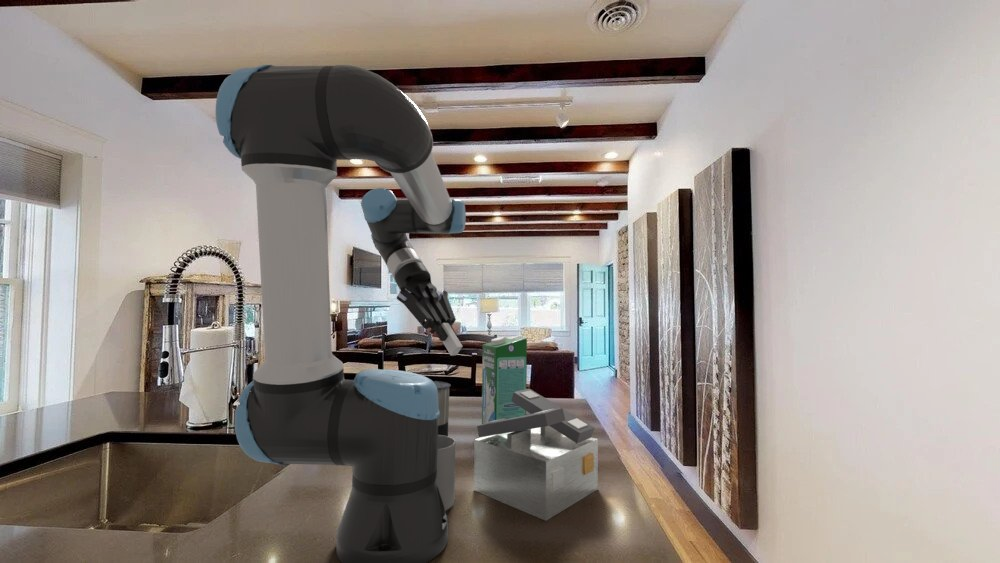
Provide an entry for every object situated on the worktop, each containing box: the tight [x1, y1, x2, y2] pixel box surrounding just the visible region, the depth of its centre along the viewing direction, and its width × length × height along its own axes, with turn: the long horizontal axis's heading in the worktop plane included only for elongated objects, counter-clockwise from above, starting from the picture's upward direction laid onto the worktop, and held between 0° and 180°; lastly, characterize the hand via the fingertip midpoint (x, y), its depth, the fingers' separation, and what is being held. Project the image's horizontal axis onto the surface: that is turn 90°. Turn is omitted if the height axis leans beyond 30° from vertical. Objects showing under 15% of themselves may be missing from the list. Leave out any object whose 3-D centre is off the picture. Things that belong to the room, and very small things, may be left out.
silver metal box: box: [473, 426, 599, 522], centre depth 78 cm, size 16×16×11 cm
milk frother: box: [432, 380, 451, 437], centre depth 99 cm, size 14×16×15 cm
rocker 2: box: [511, 388, 595, 443], centre depth 82 cm, size 5×16×2 cm, turn 48°
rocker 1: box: [476, 407, 565, 438], centre depth 75 cm, size 5×16×2 cm, turn 48°
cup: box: [437, 435, 456, 512], centre depth 72 cm, size 8×8×10 cm
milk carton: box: [481, 335, 528, 425], centre depth 115 cm, size 9×9×25 cm
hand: (456, 350), depth 87 cm, fingers closed
